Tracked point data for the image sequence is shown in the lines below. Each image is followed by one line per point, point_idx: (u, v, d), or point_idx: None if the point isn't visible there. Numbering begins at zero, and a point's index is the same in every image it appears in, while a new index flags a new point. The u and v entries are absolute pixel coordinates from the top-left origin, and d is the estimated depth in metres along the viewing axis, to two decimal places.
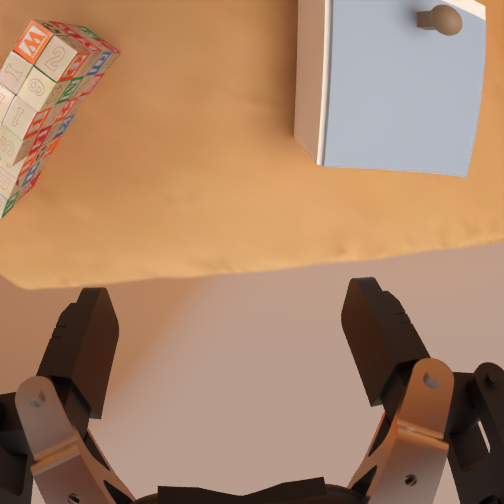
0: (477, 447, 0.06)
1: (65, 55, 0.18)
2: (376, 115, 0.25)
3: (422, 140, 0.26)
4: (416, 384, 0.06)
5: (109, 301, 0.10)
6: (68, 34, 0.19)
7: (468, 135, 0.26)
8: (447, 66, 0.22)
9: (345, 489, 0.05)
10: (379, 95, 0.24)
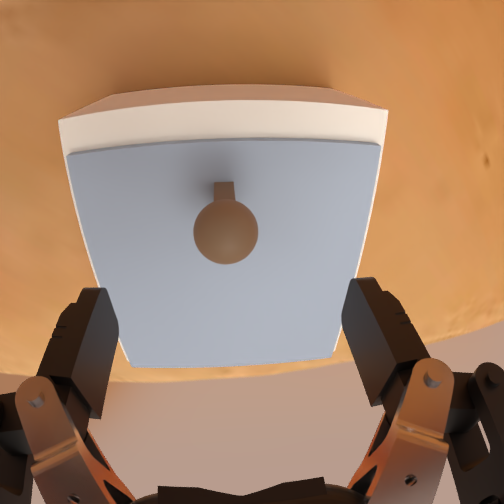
0: (477, 447, 0.06)
1: None
2: (173, 327, 0.22)
3: (248, 340, 0.24)
4: (416, 384, 0.06)
5: (109, 301, 0.10)
6: None
7: (329, 322, 0.23)
8: (281, 252, 0.19)
9: (345, 489, 0.05)
10: (170, 308, 0.21)
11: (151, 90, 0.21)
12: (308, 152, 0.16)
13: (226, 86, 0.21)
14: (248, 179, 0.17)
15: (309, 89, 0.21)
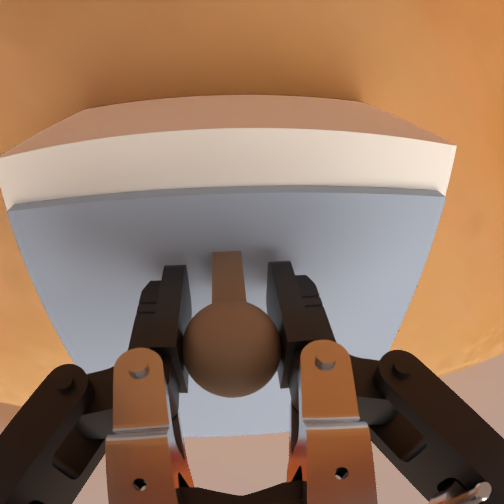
0: (410, 431, 0.07)
1: None
2: None
3: (256, 415, 0.19)
4: (309, 372, 0.07)
5: None
6: None
7: None
8: None
9: (279, 499, 0.05)
10: None
11: (131, 104, 0.16)
12: (351, 208, 0.11)
13: (229, 98, 0.16)
14: (263, 247, 0.11)
15: (338, 104, 0.16)
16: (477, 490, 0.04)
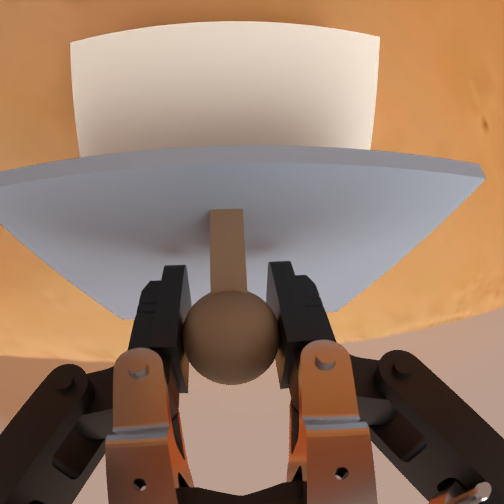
0: (410, 431, 0.07)
1: None
2: None
3: None
4: (309, 372, 0.07)
5: None
6: None
7: (343, 296, 0.21)
8: (302, 262, 0.14)
9: (279, 499, 0.05)
10: None
11: None
12: (378, 179, 0.09)
13: None
14: (268, 206, 0.10)
15: None
16: (477, 490, 0.04)
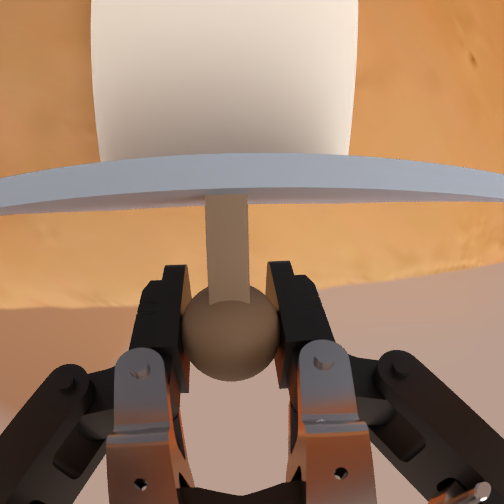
0: (409, 431, 0.07)
1: None
2: (154, 206, 0.18)
3: None
4: (308, 373, 0.07)
5: (188, 278, 0.11)
6: None
7: (347, 202, 0.19)
8: None
9: (279, 499, 0.05)
10: None
11: None
12: (426, 193, 0.06)
13: None
14: (280, 193, 0.08)
15: None
16: (477, 490, 0.04)
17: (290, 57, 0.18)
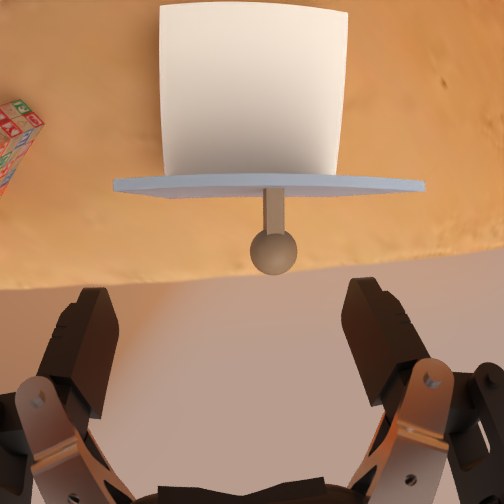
0: (477, 447, 0.06)
1: None
2: None
3: None
4: (416, 384, 0.06)
5: (109, 301, 0.10)
6: None
7: None
8: None
9: (345, 489, 0.05)
10: None
11: None
12: (358, 188, 0.17)
13: None
14: None
15: None
16: None
17: (298, 96, 0.29)
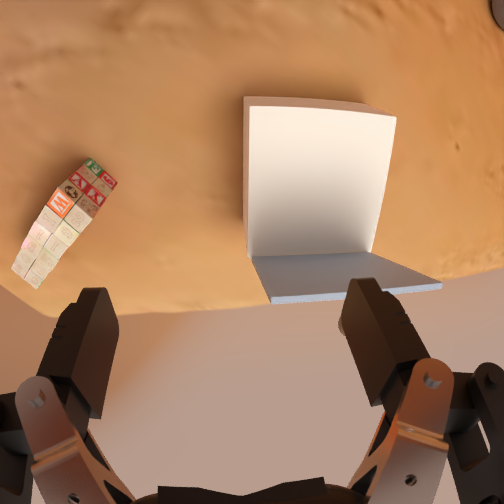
0: (477, 447, 0.06)
1: (84, 219, 0.36)
2: None
3: None
4: (416, 384, 0.06)
5: (109, 301, 0.10)
6: (82, 192, 0.37)
7: None
8: None
9: (345, 489, 0.05)
10: None
11: (271, 97, 0.40)
12: None
13: (313, 100, 0.40)
14: None
15: (355, 104, 0.40)
16: None
17: (353, 186, 0.39)
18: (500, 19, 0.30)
